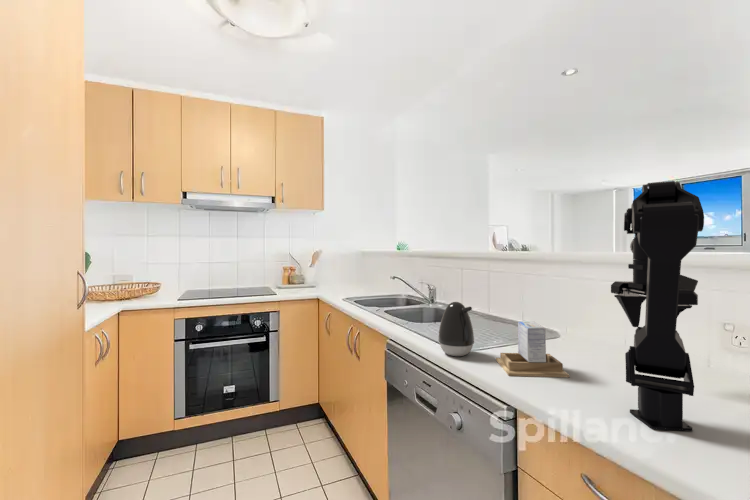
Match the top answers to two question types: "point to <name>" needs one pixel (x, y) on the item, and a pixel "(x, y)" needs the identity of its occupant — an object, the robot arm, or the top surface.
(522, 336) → the medicine box
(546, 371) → the box
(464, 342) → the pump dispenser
